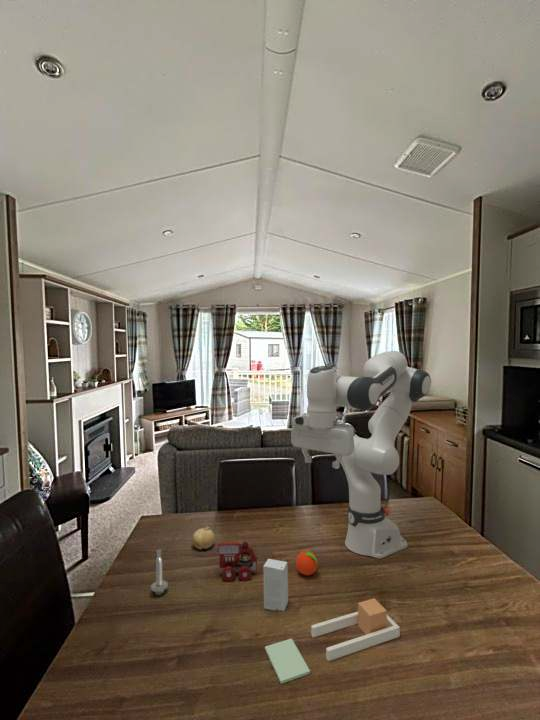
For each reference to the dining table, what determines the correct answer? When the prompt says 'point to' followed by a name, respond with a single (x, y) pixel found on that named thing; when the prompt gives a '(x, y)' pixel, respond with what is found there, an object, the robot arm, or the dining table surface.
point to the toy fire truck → (236, 560)
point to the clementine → (306, 563)
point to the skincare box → (275, 584)
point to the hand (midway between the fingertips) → (321, 465)
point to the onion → (203, 538)
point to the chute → (357, 643)
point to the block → (371, 616)
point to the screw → (159, 577)
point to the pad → (287, 660)
